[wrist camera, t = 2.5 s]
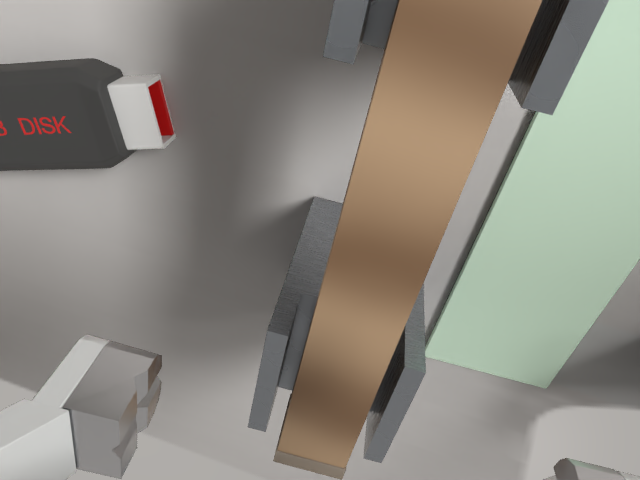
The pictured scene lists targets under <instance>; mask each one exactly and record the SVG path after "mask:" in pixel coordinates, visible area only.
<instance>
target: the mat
mask: <svg viewBox="0 0 640 480" xmlns="http://www.w3.org/2000/svg"><path fill="white" fill-rule="evenodd" d="M639 259H640V0H609V1H608V3H607V5H606V7H605V10H604V12H603V14H602V16H601V18H600V20H599V22H598V24H597V26H596V28H595V30H594V32H593V34H592V36H591V38H590V40H589V42H588V44H587V46H586V48H585V50H584V52H583V54H582V56H581V58H580V60H579V62H578V64H577V66H576V68H575V70H574V73H573V75H572V77H571V79H570V81H569V83H568V85H567V87H566V89H565V91H564V93H563V95H562V97H561V99H560V101H559V103H558V105H557V107H556V109H555V111H554V113H553V115H549V114H545V113H541V112H537V111H536V112H535V114H534V117H533V119H532V121H531V123H530V125H529V127H528V129H527V131H526V134H525V136H524V138H523V140H522V142H521V144H520V146H519V148H518V151H517V153H516V155H515V157H514V159H513V161H512V163H511V165H510V168H509V170H508V172H507V174H506V176H505V178H504V180H503V182H502V185H501V187H500V189H499V191H498V193H497V195H496V197H495V200H494V202H493V204H492V206H491V208H490V210H489V212H488V214H487V217H486V219H485V221H484V223H483V225H482V227H481V229H480V231H479V234H478V236H477V238H476V240H475V242H474V244H473V246H472V248H471V251H470V253H469V255H468V257H467V259H466V261H465V263H464V265H463V268H462V270H461V272H460V274H459V276H458V278H457V280H456V282H455V285H454V287H453V289H452V291H451V293H450V295H449V297H448V300H447V302H446V304H445V306H444V308H443V310H442V312H441V314H440V317H439V319H438V321H437V323H436V325H435V327H434V329H433V331H432V334H431V336H430V338H429V340H428V342H427V344H426V346H425V357H428V358H432V359H436V360H439V361H443V362H447V363H451V364H454V365H458V366H462V367H466V368H469V369H473V370H477V371H481V372H485V373H488V374H492V375H496V376H500V377H503V378H507V379H511V380H515V381H518V382H522V383H526V384H530V385H534V386H537V387H541V388H545V389H546V388H547V387H548V386H549V384H550V383H551V382H552V380H553V379H554V377H555V376H556V375H557V373H558V372H559V370H560V369H561V368H562V366H563V365H564V363H565V362H566V361H567V359H568V358H569V357H570V355H571V354H572V352H573V351H574V350H575V348H576V347H577V345H578V344H579V343H580V341H581V340H582V338H583V337H584V336H585V334H586V333H587V332H588V330H589V329H590V327H591V326H592V325H593V323H594V322H595V320H596V319H597V318H598V316H599V315H600V314H601V312H602V311H603V309H604V308H605V307H606V305H607V304H608V302H609V301H610V300H611V298H612V297H613V295H614V294H615V293H616V291H617V290H618V289H619V287H620V286H621V284H622V283H623V282H624V280H625V279H626V277H627V276H628V275H629V273H630V272H631V270H632V269H633V268H634V266H635V265H636V264H637V262H638V261H639Z"/></svg>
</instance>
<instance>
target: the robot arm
mask: <svg viewBox="0 0 640 480" xmlns="http://www.w3.org/2000/svg"><path fill="white" fill-rule="evenodd" d="M161 367H162V355H159V354H156V353H152V352H149V351H145V350H142V349H138V348H134V347H131V346H127V345H124V344H120V343H117V342H113V341H110V340H106V339H102V338H99V337H95V336H91V335H87V334H86V335H85V336H83V337H82V338H80V339H79V340H78V341H77V342H76V344H75V345H74V346H73V348H72V349H71V350H70V351H69V353H68V354H67V355H66V357H65V358H64V359H63V361H62V362H61V363H60V364H59V366H58V367H57V368H56V370H55V371H54V372H53V373H52V375H51V376H50V377H49V379H48V380H47V381H46V383H45V384H44V385H43V386H42V388H41V389H40V390H39V392H38V393H37V394H36V396H35V397H34V398H33V400H27V399H22V400H21V401H18V402H16V403H15V404H13V405H11V406H9V407H7V408H5V409H3V410H1V411H0V480H67V479H68V478H69V477H70V476H72V475H73V474H74V473H76V471H77V470H76V469H79V470H83V471H88V472H93V473H97V474H101V475H105V476H110V477H114V478H119V479H121V478H122V476H123V474H124V472H125V470H126V468H127V466H128V464H129V462H130V460H131V458H132V457H133V455H134V453H135V450H136V449H137V433H139V432H141V431H142V430H144V429H145V428H147V427H148V425H149V423H150V421H151V418H152V416H153V414H154V411H155V409H156V406H157V403H158V400H159V395H160V390H161V380H160V379H159V378H158V376H157V374H158V373H159V371H160V369H161ZM554 470H555V474H556V475H555V476H552V477H549V478H546V479H544V480H640V477H639V476H635V475H632V474H628V473H624V472H619V471H615V470H614V469H610V468H606V467H602V466H598V465H594V464H589V463H585V462H581V461H577V460H573V459H569V458H565V459H562V460H560V461H559V462H558V463H557V464H556V465H555V466H554Z"/></svg>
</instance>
